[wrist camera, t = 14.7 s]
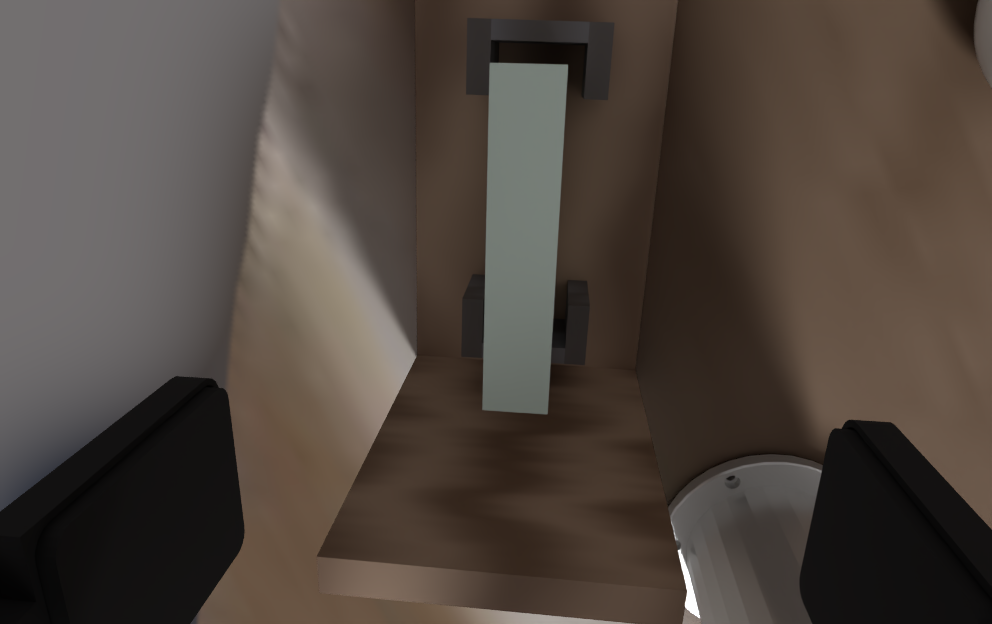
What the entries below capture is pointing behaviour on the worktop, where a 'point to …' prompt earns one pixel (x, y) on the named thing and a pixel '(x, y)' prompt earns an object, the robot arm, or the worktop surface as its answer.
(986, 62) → the lidded jar
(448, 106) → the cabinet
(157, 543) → the robot arm
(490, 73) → the door
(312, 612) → the worktop surface
